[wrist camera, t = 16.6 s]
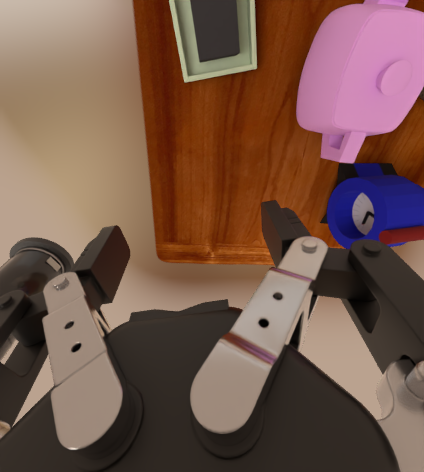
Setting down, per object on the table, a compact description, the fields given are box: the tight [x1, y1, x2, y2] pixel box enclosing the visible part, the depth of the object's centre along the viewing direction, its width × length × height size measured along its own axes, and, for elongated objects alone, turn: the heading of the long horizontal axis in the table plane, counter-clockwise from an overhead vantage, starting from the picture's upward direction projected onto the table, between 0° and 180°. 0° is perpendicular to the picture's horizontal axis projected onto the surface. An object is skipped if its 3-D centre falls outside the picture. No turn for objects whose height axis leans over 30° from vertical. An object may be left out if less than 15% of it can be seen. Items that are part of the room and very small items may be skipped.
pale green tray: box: [169, 0, 257, 83], centre depth 27 cm, size 10×15×2 cm, turn 9°
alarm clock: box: [320, 163, 424, 249], centre depth 37 cm, size 12×12×15 cm
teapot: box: [296, 0, 424, 163], centre depth 27 cm, size 20×12×13 cm, turn 175°
